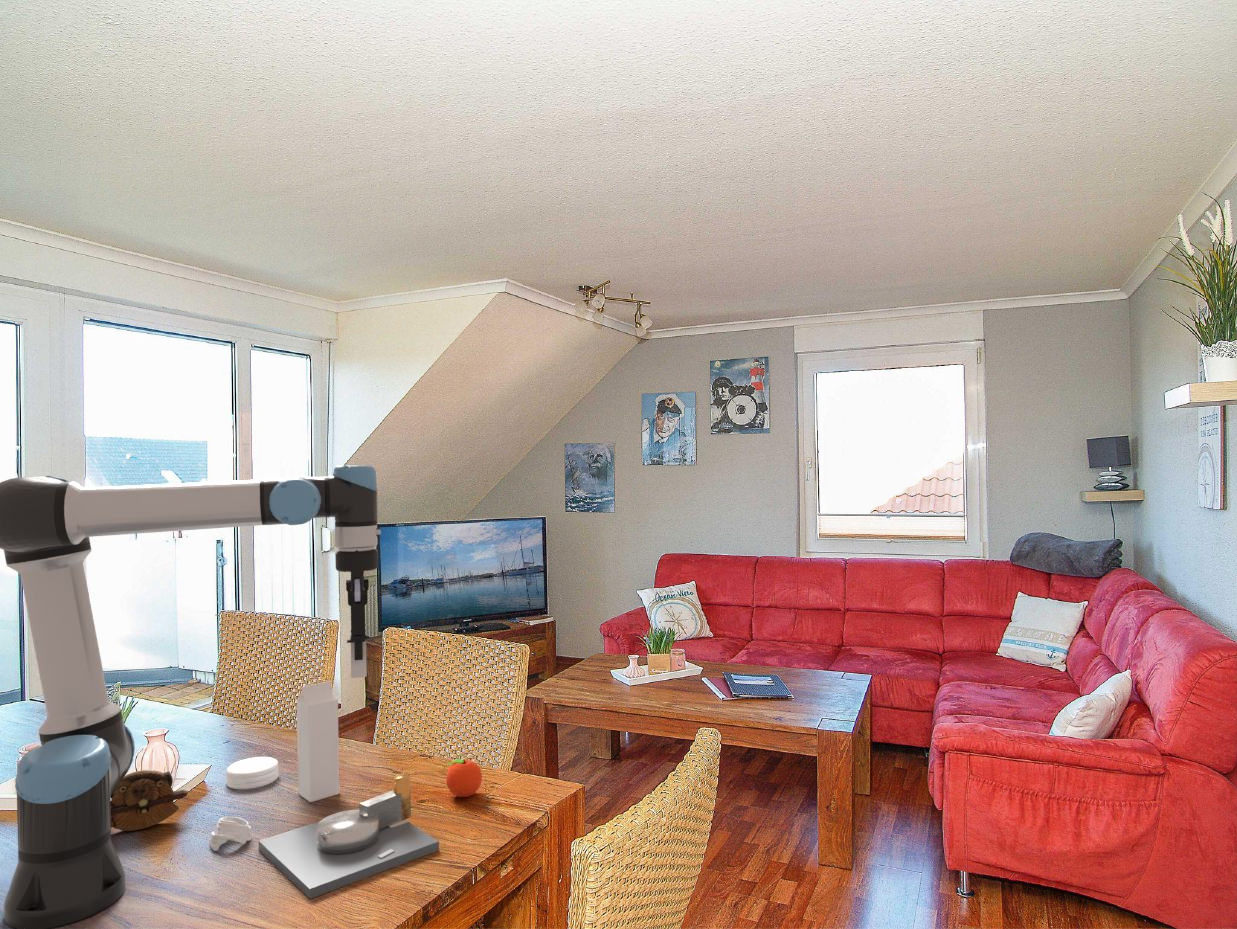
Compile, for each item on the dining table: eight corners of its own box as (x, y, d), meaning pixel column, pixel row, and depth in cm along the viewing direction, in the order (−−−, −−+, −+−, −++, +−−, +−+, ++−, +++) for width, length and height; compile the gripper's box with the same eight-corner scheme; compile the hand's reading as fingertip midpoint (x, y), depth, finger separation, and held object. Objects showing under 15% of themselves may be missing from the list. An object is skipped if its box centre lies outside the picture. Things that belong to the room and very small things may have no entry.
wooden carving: (84, 846, 142) (83, 788, 142) (84, 836, 145) (83, 780, 145) (190, 821, 151) (189, 767, 151) (187, 813, 155) (187, 760, 154)
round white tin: (261, 791, 165) (260, 774, 165) (215, 789, 166) (215, 772, 166) (288, 773, 175) (287, 756, 174) (245, 771, 176) (244, 754, 176)
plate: (309, 898, 123) (309, 887, 123) (258, 849, 139) (258, 839, 139) (439, 850, 138) (438, 840, 138) (379, 810, 154) (379, 801, 154)
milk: (339, 794, 162) (338, 683, 162) (309, 803, 158) (308, 689, 158) (326, 785, 167) (325, 677, 167) (297, 793, 163) (296, 683, 163)
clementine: (435, 801, 158) (434, 764, 158) (450, 787, 165) (450, 751, 165) (473, 804, 156) (473, 767, 156) (487, 790, 163) (487, 754, 163)
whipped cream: (205, 845, 143) (201, 818, 143) (245, 830, 148) (242, 803, 148) (216, 858, 137) (212, 830, 137) (258, 842, 141) (254, 815, 141)
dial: (338, 859, 132) (337, 814, 131) (305, 842, 138) (304, 799, 138) (426, 821, 145) (425, 780, 145) (392, 807, 151) (391, 768, 151)
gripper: (378, 551, 145) (380, 683, 145) (377, 544, 158) (379, 666, 158) (334, 553, 143) (336, 687, 143) (336, 546, 156) (338, 669, 156)
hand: (358, 676), depth 151 cm, fingers closed
